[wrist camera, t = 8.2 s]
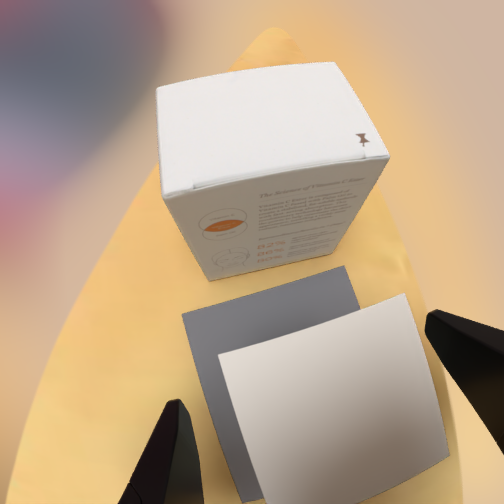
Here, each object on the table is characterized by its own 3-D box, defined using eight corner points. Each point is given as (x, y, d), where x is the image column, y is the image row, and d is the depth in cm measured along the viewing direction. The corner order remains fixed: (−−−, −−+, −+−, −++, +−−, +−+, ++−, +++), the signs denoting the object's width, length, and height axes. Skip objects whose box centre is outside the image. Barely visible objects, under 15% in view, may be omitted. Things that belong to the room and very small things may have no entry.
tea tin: (352, 415, 16) (449, 455, 6) (264, 445, 15) (276, 529, 6) (326, 332, 17) (404, 292, 8) (238, 360, 17) (217, 354, 8)
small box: (308, 181, 22) (339, 58, 12) (333, 256, 20) (398, 155, 10) (192, 203, 21) (152, 83, 11) (206, 283, 19) (158, 196, 9)
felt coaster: (398, 443, 15) (402, 445, 15) (242, 499, 15) (242, 503, 14) (341, 268, 19) (344, 265, 19) (183, 315, 18) (181, 314, 18)
